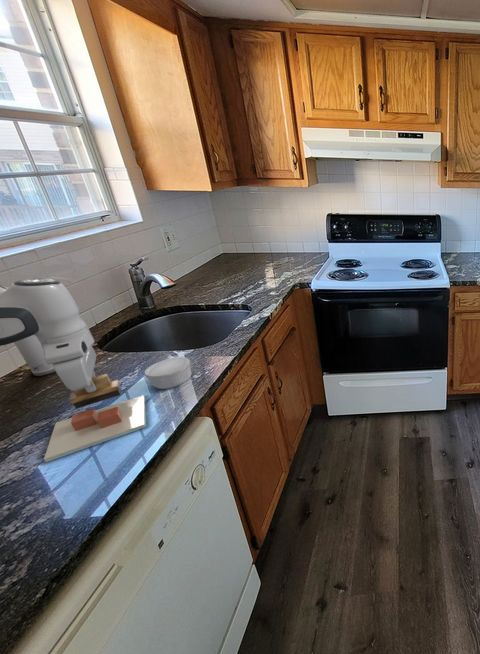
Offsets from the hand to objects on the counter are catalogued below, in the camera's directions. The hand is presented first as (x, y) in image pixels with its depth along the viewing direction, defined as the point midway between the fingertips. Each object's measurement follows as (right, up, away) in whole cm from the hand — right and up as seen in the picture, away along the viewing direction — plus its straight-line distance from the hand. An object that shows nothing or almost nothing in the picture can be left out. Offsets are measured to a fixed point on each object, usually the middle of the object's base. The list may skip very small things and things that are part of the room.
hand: (93, 387), depth 96 cm
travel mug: (-36, +1, +22) cm, 42 cm away
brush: (0, -3, +2) cm, 4 cm away
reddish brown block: (+3, -8, -4) cm, 10 cm away
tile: (+6, -9, -4) cm, 12 cm away
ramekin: (+10, -1, +14) cm, 18 cm away
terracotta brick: (+9, -8, -4) cm, 12 cm away
